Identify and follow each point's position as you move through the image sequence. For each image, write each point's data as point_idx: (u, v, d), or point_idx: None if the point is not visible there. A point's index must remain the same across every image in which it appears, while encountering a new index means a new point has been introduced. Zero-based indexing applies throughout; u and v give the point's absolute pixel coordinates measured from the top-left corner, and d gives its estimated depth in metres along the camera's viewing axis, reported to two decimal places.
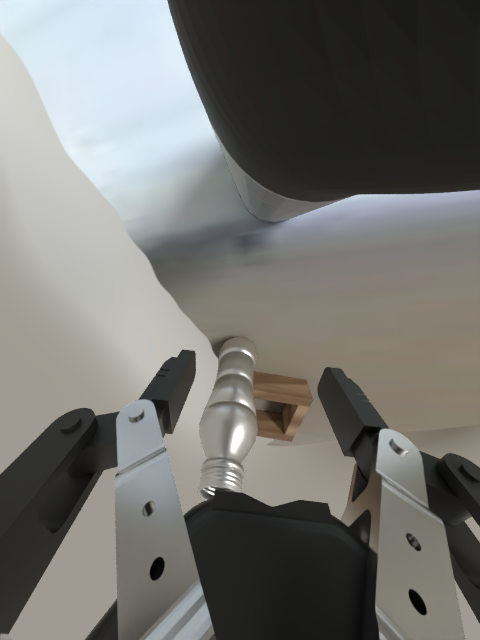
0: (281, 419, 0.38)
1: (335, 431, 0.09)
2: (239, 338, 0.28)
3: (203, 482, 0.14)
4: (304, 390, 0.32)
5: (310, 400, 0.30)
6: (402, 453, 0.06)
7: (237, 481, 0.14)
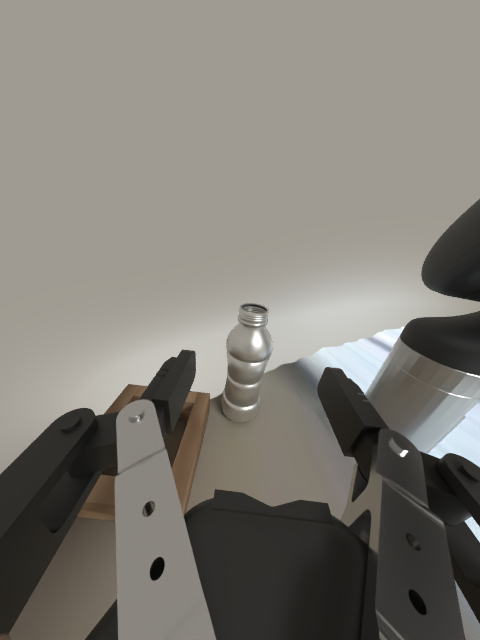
0: None
1: (335, 431, 0.09)
2: None
3: (261, 307, 0.23)
4: (183, 504, 0.18)
5: None
6: (402, 453, 0.06)
7: (264, 317, 0.21)
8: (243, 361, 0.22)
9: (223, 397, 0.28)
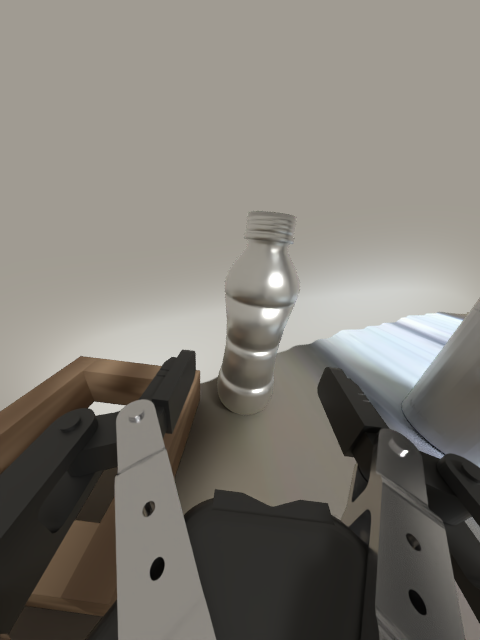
0: None
1: (335, 431, 0.09)
2: None
3: None
4: None
5: (109, 586, 0.07)
6: (402, 453, 0.06)
7: (291, 225, 0.12)
8: (253, 306, 0.13)
9: (220, 376, 0.19)
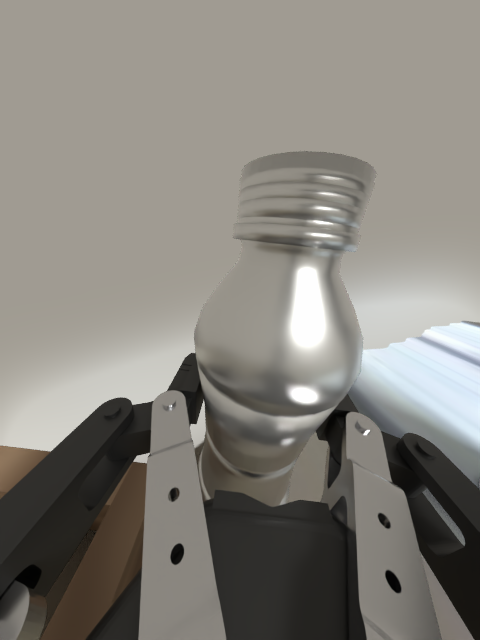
0: None
1: None
2: None
3: None
4: None
5: None
6: (364, 432, 0.06)
7: (365, 199, 0.04)
8: (257, 410, 0.05)
9: None
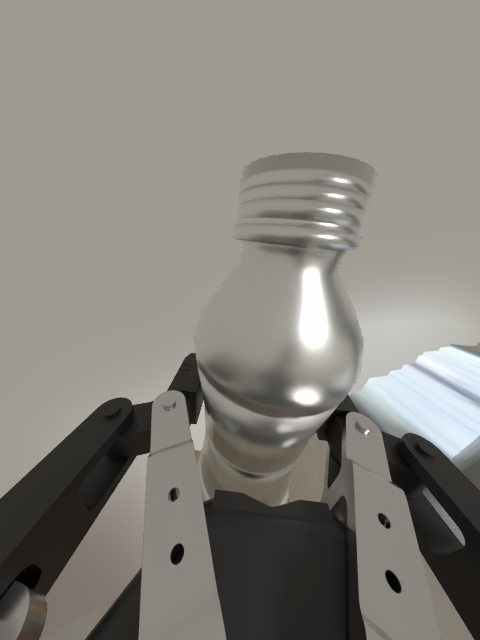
0: None
1: None
2: None
3: None
4: None
5: None
6: (364, 432, 0.06)
7: (366, 200, 0.04)
8: (257, 411, 0.05)
9: None
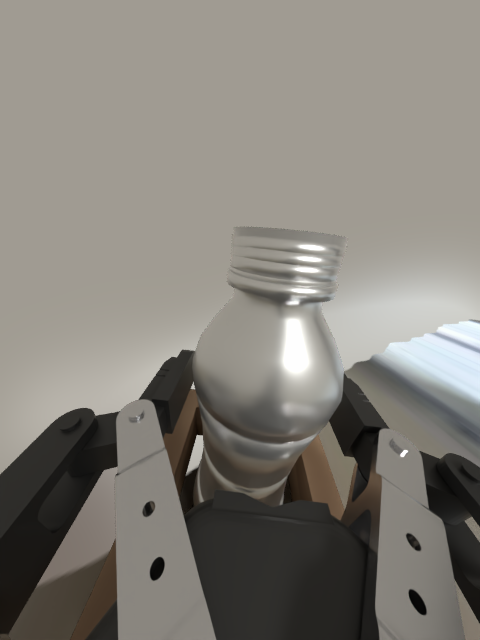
0: None
1: (335, 431, 0.09)
2: None
3: None
4: None
5: None
6: (402, 453, 0.06)
7: (338, 259, 0.05)
8: (247, 437, 0.06)
9: (196, 487, 0.12)
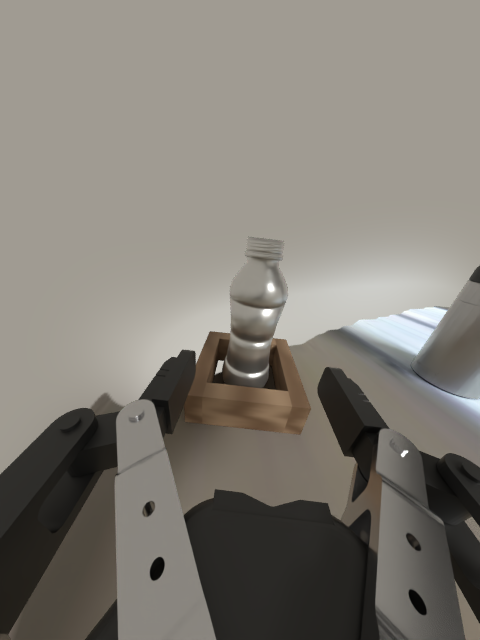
0: None
1: (335, 431, 0.09)
2: None
3: None
4: None
5: (307, 405, 0.18)
6: (402, 453, 0.06)
7: (280, 247, 0.16)
8: (252, 307, 0.17)
9: (225, 364, 0.23)
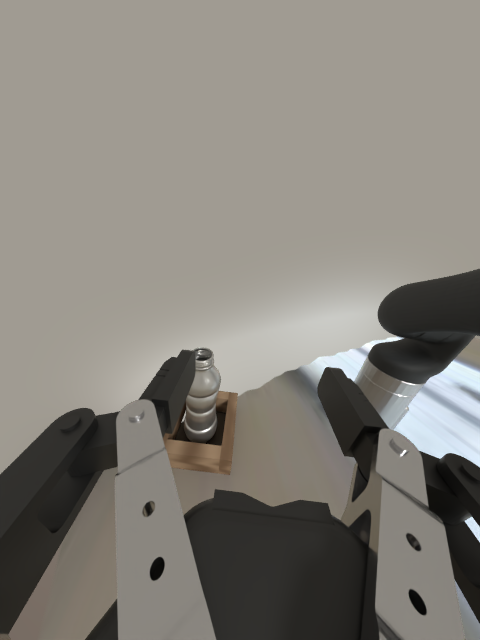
0: None
1: (335, 431, 0.09)
2: None
3: (210, 351, 0.29)
4: None
5: (230, 457, 0.28)
6: (402, 453, 0.06)
7: (208, 363, 0.26)
8: (192, 397, 0.27)
9: (184, 421, 0.33)
